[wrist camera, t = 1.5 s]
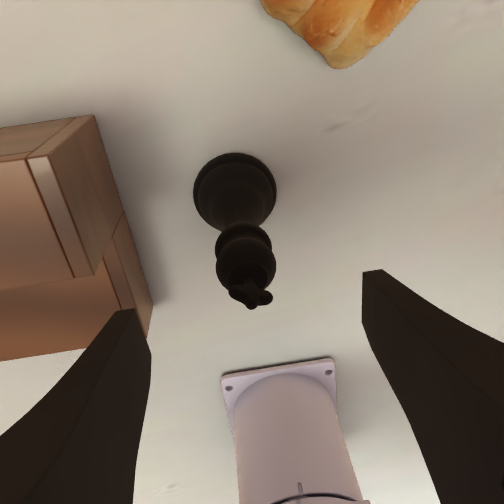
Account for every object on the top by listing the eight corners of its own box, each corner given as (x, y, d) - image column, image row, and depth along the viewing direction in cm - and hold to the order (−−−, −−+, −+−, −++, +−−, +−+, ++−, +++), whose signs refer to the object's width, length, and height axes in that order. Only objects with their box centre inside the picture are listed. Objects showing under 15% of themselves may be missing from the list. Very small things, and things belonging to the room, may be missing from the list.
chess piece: (204, 142, 21) (202, 234, 12) (286, 164, 22) (339, 265, 13) (185, 219, 23) (171, 345, 14) (261, 237, 24) (291, 365, 15)
